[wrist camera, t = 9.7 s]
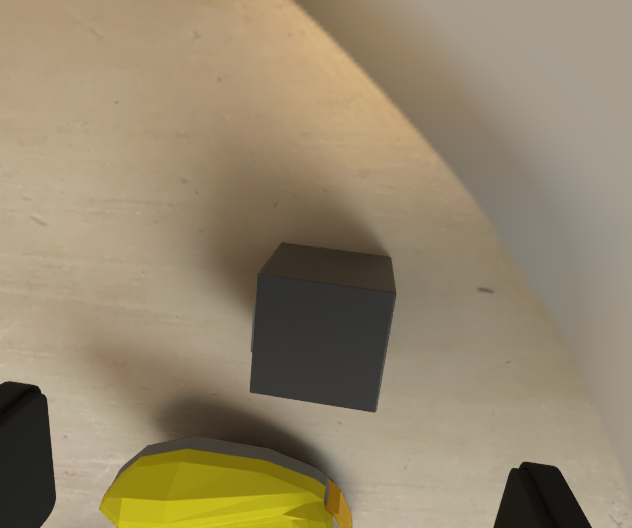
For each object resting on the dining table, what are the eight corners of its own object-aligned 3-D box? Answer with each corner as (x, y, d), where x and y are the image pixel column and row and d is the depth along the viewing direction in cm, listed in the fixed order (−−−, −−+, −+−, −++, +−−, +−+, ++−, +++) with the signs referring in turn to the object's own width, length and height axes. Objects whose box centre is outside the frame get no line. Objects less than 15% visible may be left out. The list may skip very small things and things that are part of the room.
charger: (391, 257, 18) (396, 292, 14) (375, 356, 19) (376, 413, 15) (276, 241, 18) (251, 272, 14) (268, 340, 19) (243, 392, 16)
